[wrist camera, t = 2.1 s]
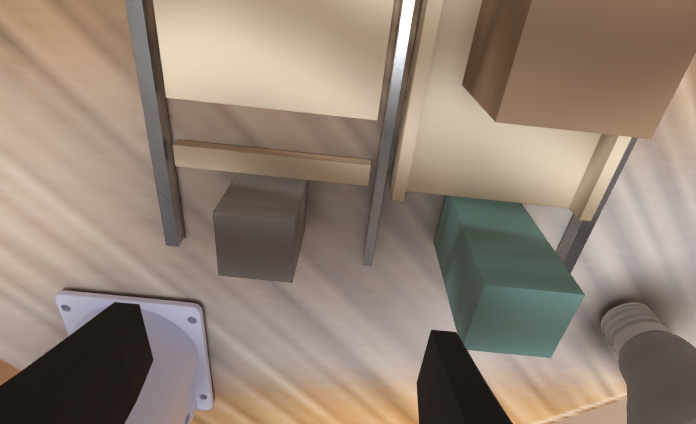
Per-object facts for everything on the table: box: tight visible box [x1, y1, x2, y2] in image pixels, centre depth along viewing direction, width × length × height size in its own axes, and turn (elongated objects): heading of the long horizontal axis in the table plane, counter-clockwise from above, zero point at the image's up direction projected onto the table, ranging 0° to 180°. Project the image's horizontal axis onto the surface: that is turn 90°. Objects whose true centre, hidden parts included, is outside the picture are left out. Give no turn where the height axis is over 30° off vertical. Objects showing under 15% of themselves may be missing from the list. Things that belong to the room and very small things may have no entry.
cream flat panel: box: [153, 0, 394, 283], centre depth 14 cm, size 14×8×4 cm, turn 174°
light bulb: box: [600, 302, 696, 424], centre depth 17 cm, size 6×6×10 cm
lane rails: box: [125, 0, 638, 273], centre depth 16 cm, size 15×20×1 cm
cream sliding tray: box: [390, 0, 632, 358], centre depth 13 cm, size 14×8×6 cm, turn 174°
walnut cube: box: [462, 0, 696, 139], centre depth 12 cm, size 4×4×4 cm
